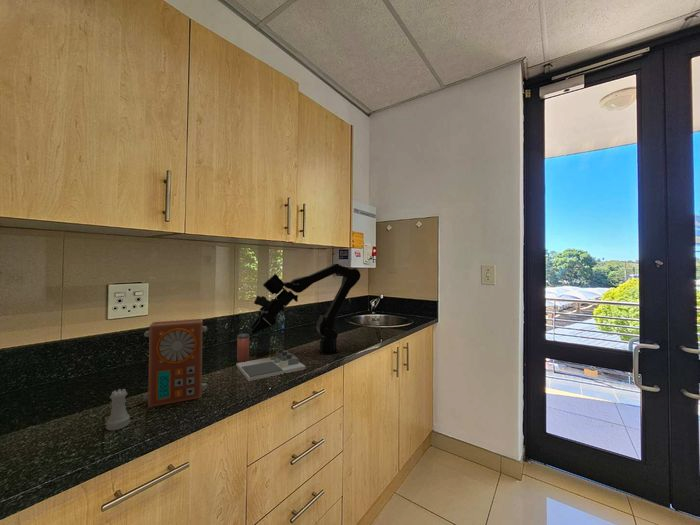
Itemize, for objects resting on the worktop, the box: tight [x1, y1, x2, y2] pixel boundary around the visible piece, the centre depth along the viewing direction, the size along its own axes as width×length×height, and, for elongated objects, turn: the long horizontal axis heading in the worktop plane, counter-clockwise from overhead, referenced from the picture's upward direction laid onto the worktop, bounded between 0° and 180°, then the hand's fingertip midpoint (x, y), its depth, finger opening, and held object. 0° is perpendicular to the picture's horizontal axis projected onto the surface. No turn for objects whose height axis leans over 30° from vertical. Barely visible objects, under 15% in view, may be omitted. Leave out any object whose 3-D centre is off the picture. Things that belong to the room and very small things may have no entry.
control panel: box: [142, 318, 208, 408], centre depth 81 cm, size 21×7×15 cm
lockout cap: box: [236, 333, 250, 363], centre depth 115 cm, size 4×4×10 cm
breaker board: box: [235, 348, 306, 382], centre depth 106 cm, size 20×17×5 cm
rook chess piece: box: [105, 388, 131, 432], centre depth 66 cm, size 4×4×8 cm
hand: (252, 330), depth 116 cm, fingers open, 9 cm apart
